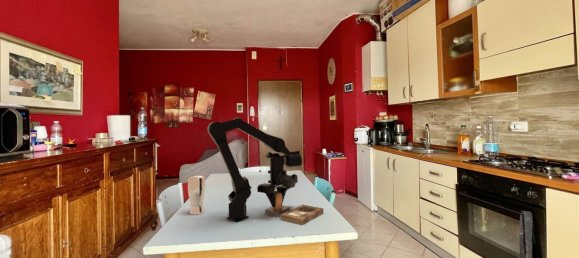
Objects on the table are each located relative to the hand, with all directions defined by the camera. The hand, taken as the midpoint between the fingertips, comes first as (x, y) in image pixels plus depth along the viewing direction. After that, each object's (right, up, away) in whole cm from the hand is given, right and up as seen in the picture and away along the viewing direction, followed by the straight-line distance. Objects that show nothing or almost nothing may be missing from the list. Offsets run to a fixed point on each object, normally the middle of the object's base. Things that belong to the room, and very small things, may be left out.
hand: (277, 205), depth 115 cm
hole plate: (+10, -3, -5) cm, 12 cm away
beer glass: (-34, -4, +2) cm, 34 cm away
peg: (0, -1, 0) cm, 1 cm away
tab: (0, -3, 0) cm, 3 cm away
